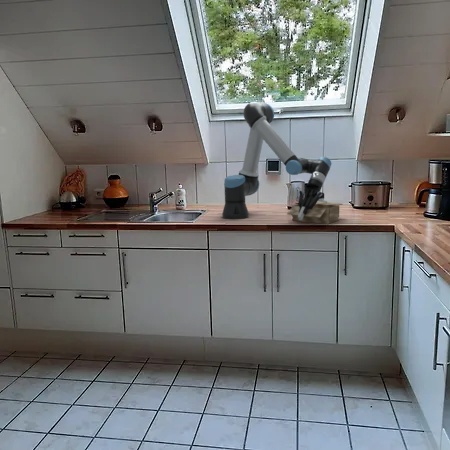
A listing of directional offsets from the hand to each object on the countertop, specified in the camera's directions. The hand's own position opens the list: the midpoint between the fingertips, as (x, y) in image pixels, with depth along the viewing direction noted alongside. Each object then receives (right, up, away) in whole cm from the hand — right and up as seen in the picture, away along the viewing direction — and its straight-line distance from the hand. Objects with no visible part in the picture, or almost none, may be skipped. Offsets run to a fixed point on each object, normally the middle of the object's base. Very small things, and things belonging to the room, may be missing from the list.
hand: (299, 218), depth 226 cm
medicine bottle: (+17, +4, +37) cm, 41 cm away
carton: (+13, 0, +16) cm, 20 cm away
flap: (+6, +6, +7) cm, 11 cm away
